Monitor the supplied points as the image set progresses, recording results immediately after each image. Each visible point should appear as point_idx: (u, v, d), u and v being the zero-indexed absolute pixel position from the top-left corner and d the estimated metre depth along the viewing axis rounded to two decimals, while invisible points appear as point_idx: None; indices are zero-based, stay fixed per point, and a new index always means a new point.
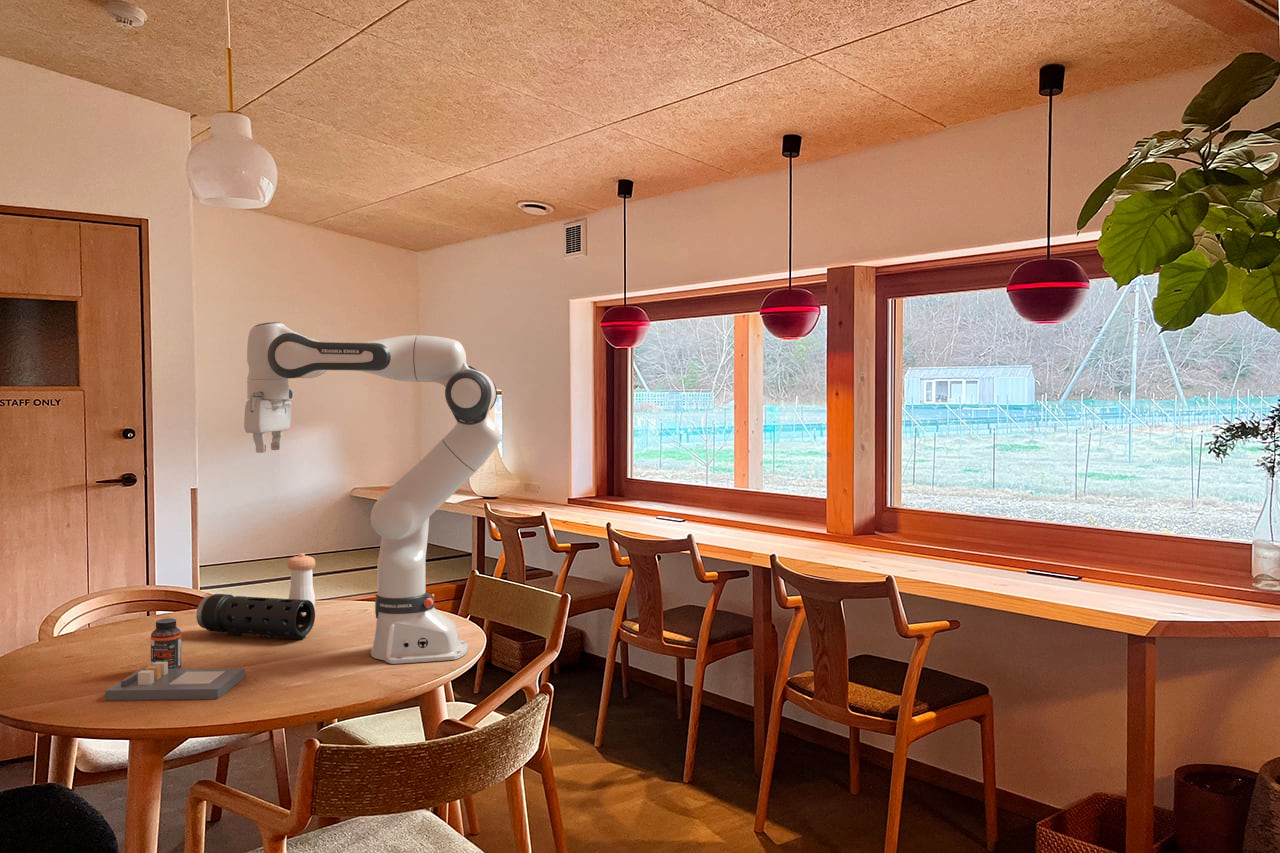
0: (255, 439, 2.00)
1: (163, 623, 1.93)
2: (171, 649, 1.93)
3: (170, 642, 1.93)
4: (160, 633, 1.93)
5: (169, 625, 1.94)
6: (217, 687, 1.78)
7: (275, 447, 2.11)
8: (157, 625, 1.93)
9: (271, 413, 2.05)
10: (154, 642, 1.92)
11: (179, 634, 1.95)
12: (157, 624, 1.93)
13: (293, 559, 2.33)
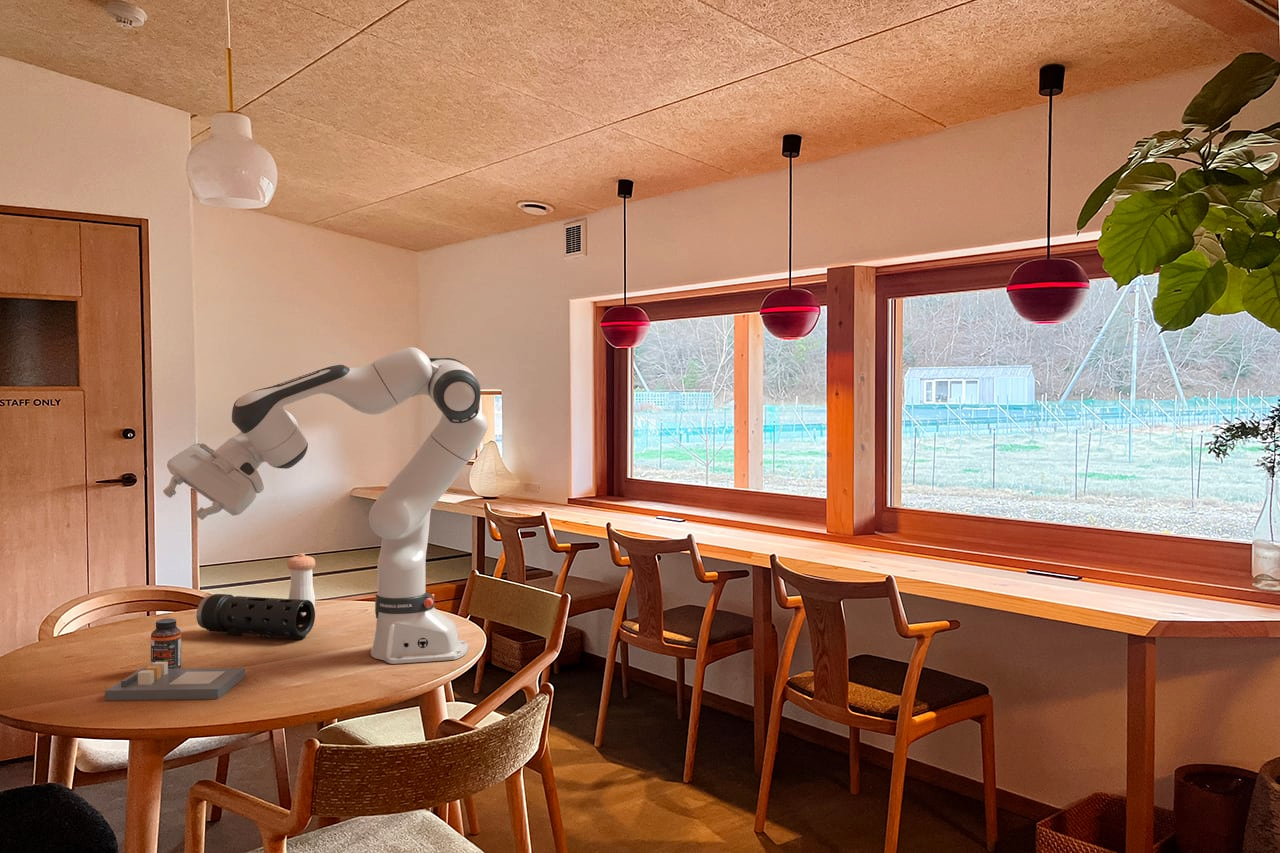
0: None
1: (163, 623, 1.93)
2: (171, 649, 1.93)
3: (170, 642, 1.93)
4: (160, 633, 1.93)
5: (169, 625, 1.94)
6: (217, 687, 1.78)
7: None
8: (157, 625, 1.93)
9: (206, 468, 1.92)
10: (154, 642, 1.92)
11: (179, 634, 1.95)
12: (157, 624, 1.93)
13: (293, 559, 2.33)
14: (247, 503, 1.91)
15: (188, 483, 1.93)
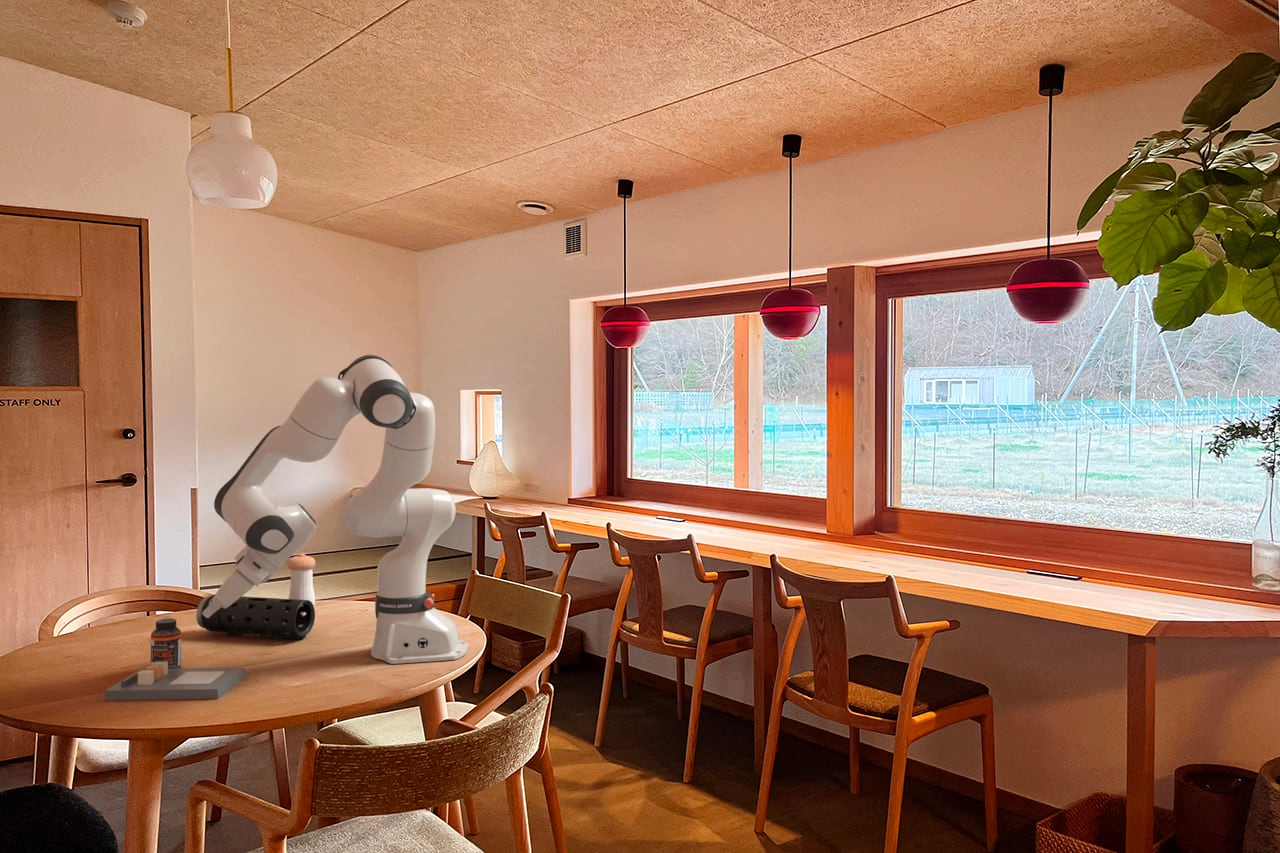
0: None
1: (163, 623, 1.93)
2: (171, 649, 1.93)
3: (170, 642, 1.93)
4: (160, 633, 1.93)
5: (169, 625, 1.94)
6: (217, 687, 1.78)
7: None
8: (157, 625, 1.93)
9: None
10: (154, 642, 1.92)
11: (179, 634, 1.95)
12: (157, 624, 1.93)
13: (293, 559, 2.33)
14: (233, 593, 1.89)
15: None
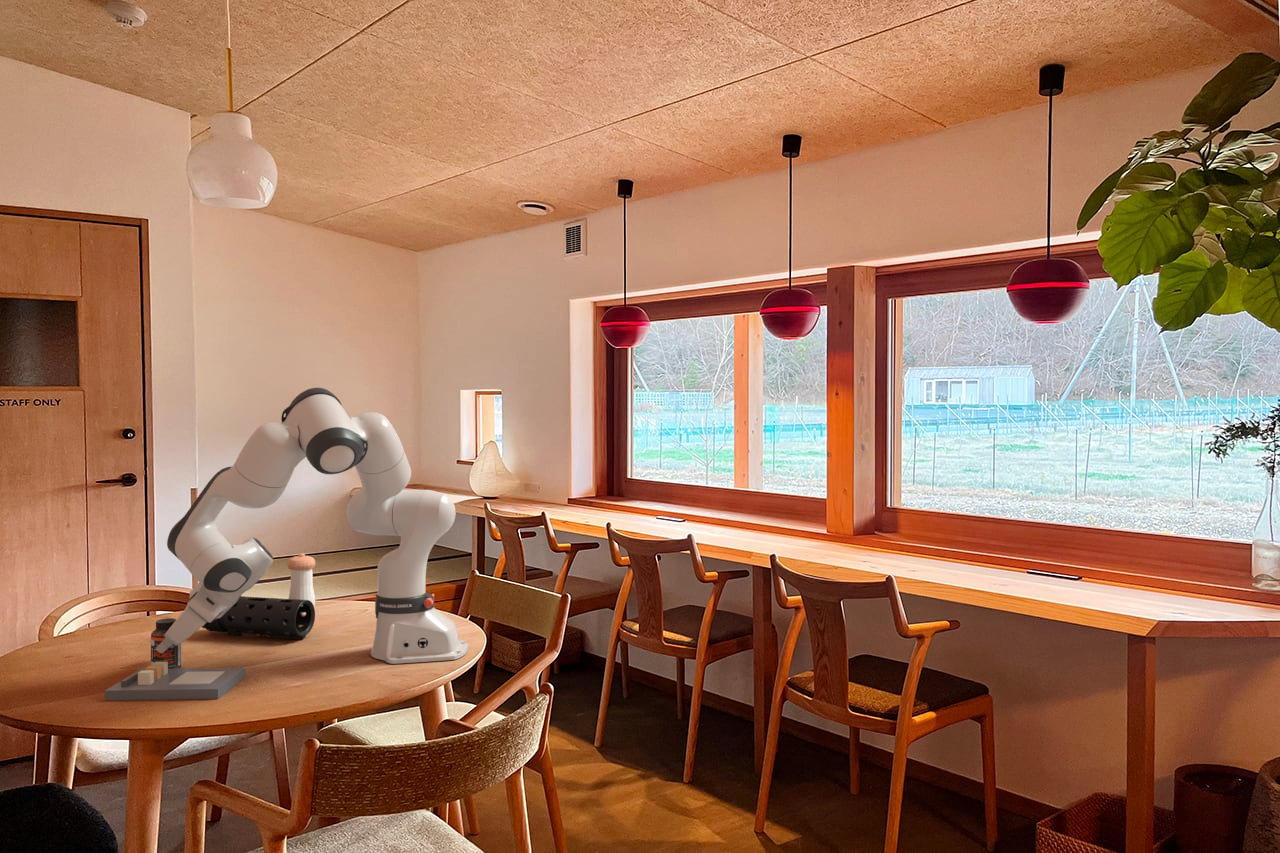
0: None
1: (163, 623, 1.93)
2: (171, 649, 1.93)
3: None
4: (160, 633, 1.93)
5: (169, 625, 1.94)
6: (217, 687, 1.78)
7: None
8: (157, 625, 1.93)
9: None
10: (154, 642, 1.92)
11: None
12: (157, 624, 1.93)
13: (293, 559, 2.33)
14: (184, 630, 1.87)
15: None
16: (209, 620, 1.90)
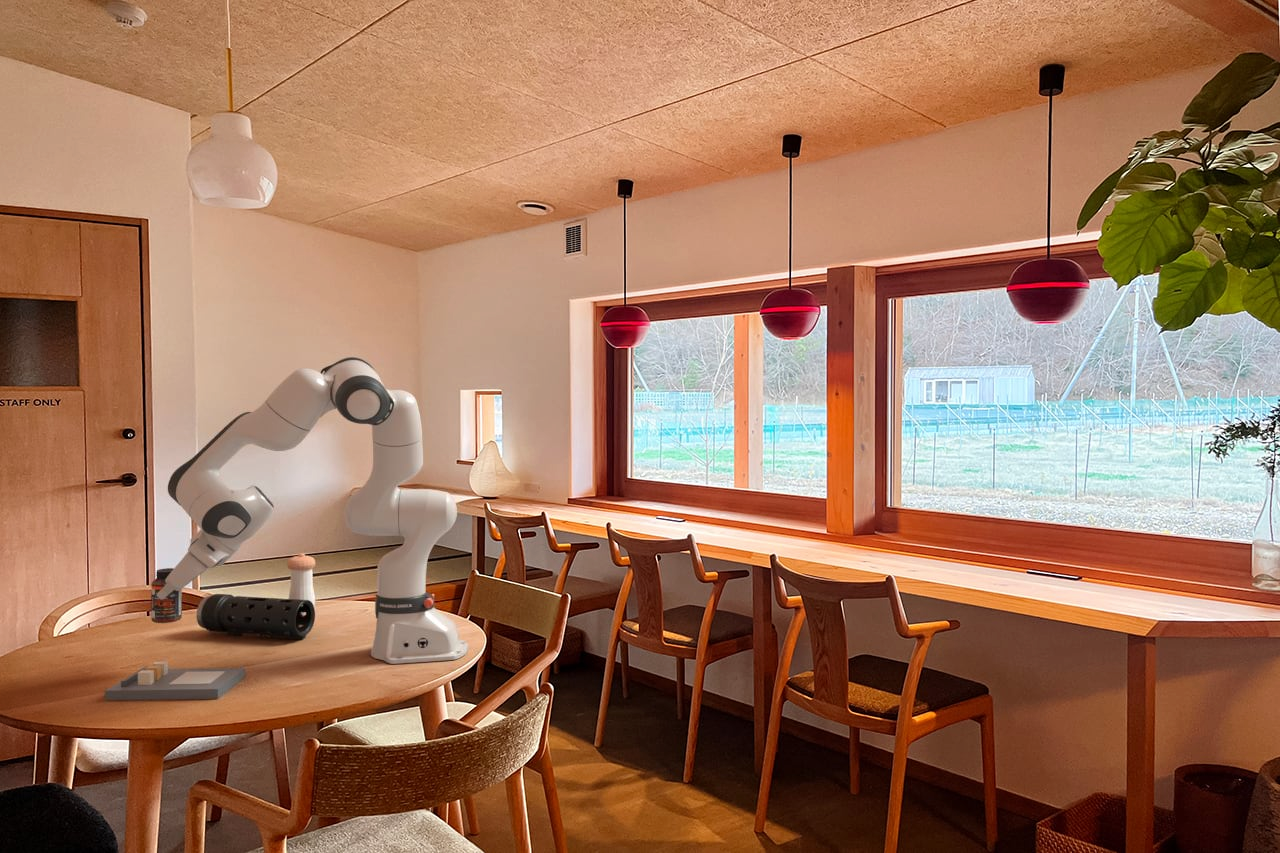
0: None
1: (164, 572, 1.93)
2: (172, 598, 1.93)
3: None
4: (161, 582, 1.92)
5: None
6: (217, 687, 1.78)
7: None
8: (158, 574, 1.93)
9: None
10: (155, 590, 1.92)
11: None
12: (158, 573, 1.93)
13: (293, 559, 2.33)
14: (185, 576, 1.87)
15: None
16: (210, 566, 1.89)
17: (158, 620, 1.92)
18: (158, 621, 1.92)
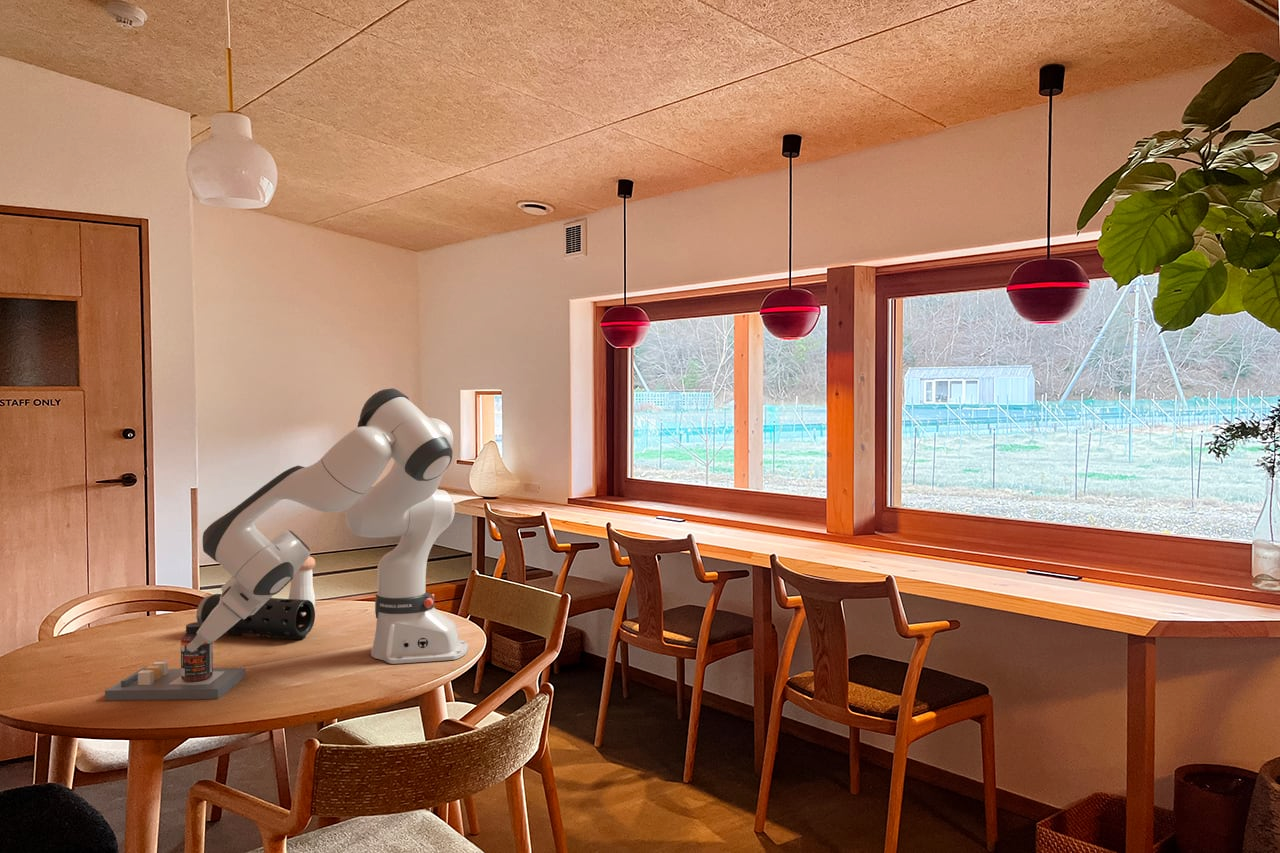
0: None
1: (194, 627, 1.81)
2: (203, 655, 1.81)
3: (201, 647, 1.81)
4: (191, 638, 1.81)
5: None
6: (217, 687, 1.78)
7: None
8: (187, 629, 1.82)
9: None
10: (184, 647, 1.81)
11: None
12: (187, 628, 1.82)
13: None
14: (218, 628, 1.75)
15: None
16: (244, 617, 1.78)
17: (188, 678, 1.81)
18: (188, 679, 1.81)
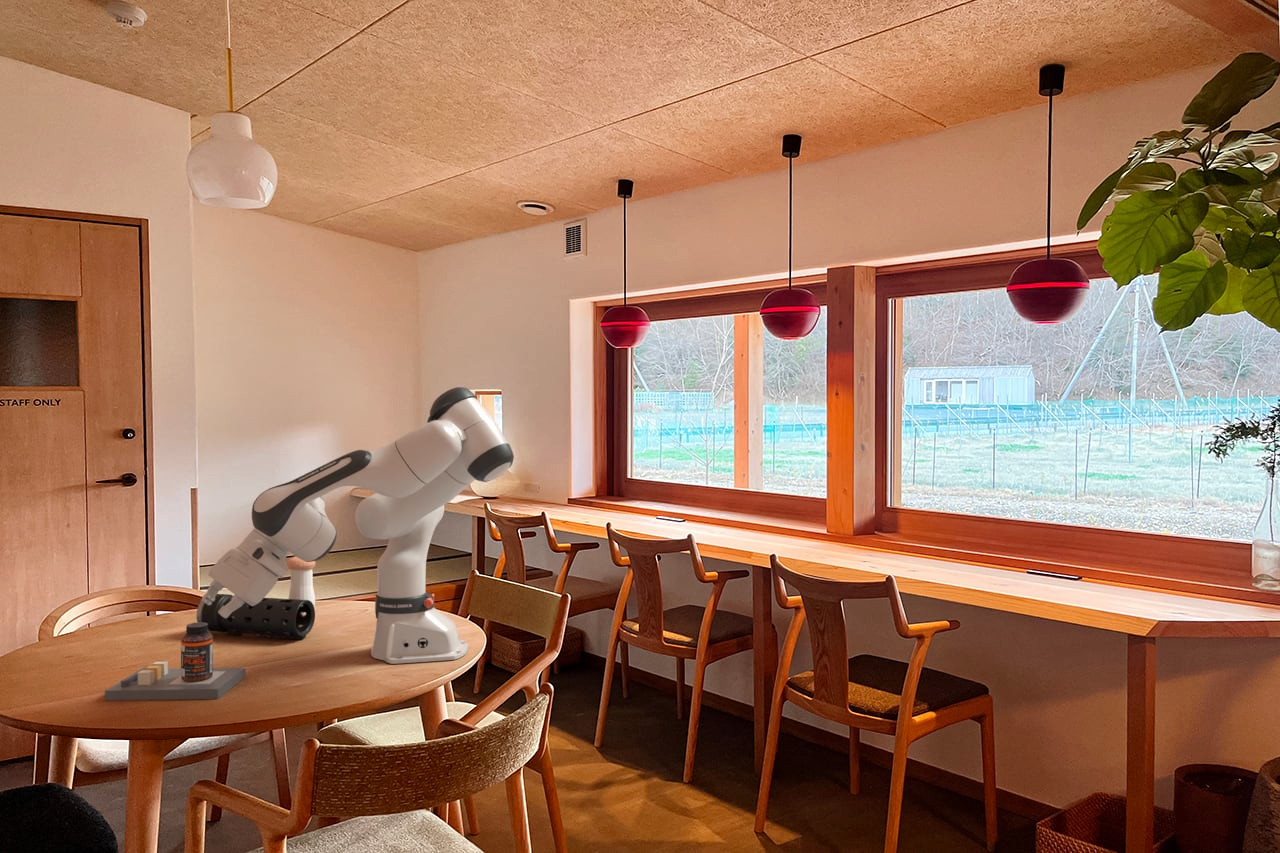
0: None
1: (194, 627, 1.81)
2: (203, 655, 1.81)
3: (201, 648, 1.81)
4: (191, 638, 1.81)
5: (201, 629, 1.82)
6: (217, 687, 1.78)
7: None
8: (188, 629, 1.81)
9: (234, 566, 1.83)
10: (185, 647, 1.80)
11: (211, 639, 1.83)
12: (188, 628, 1.81)
13: (293, 559, 2.33)
14: (262, 589, 1.76)
15: None
16: (282, 575, 1.80)
17: (188, 679, 1.81)
18: (188, 680, 1.81)
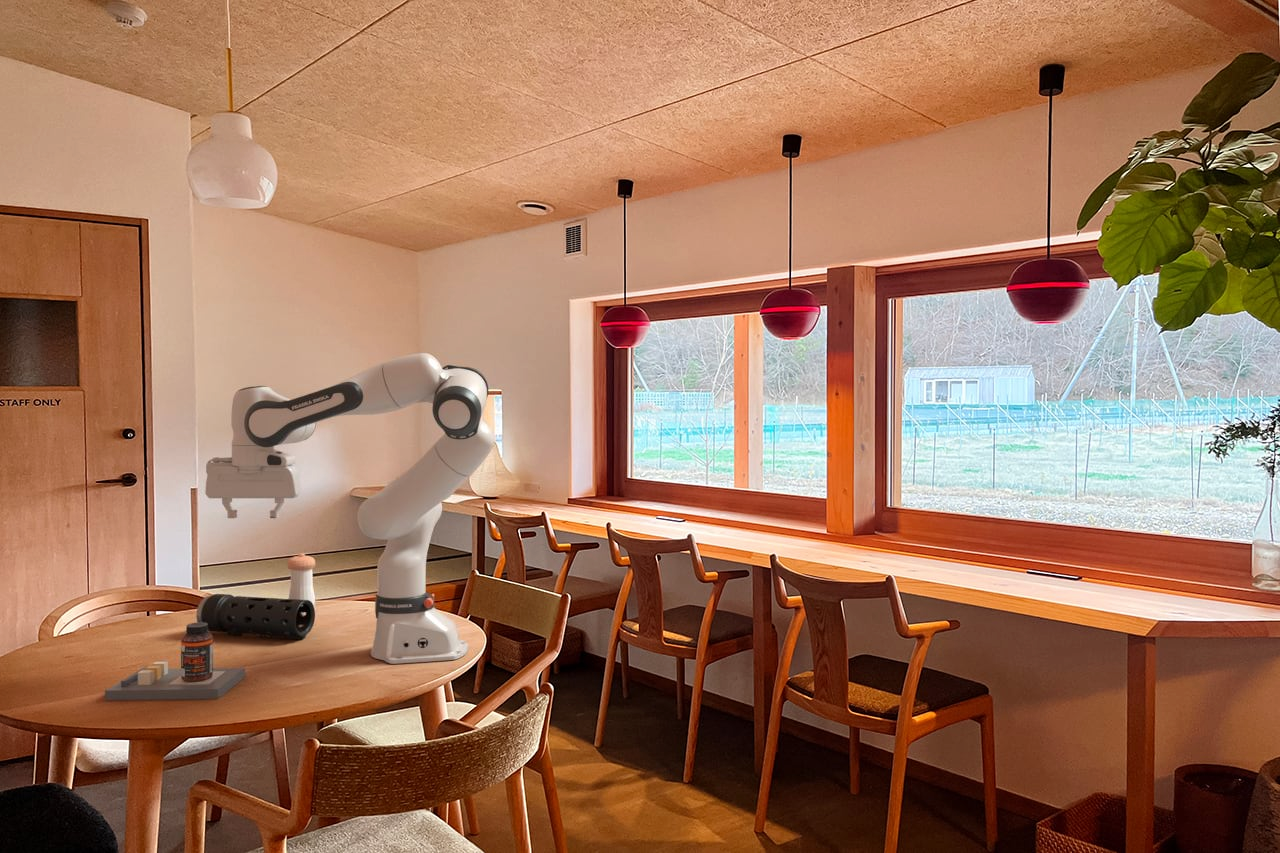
0: None
1: (194, 627, 1.81)
2: (203, 655, 1.81)
3: (201, 648, 1.81)
4: (191, 638, 1.81)
5: (201, 629, 1.82)
6: (217, 687, 1.78)
7: None
8: (188, 629, 1.81)
9: (241, 479, 1.99)
10: (185, 647, 1.80)
11: (211, 639, 1.83)
12: (188, 628, 1.81)
13: (293, 559, 2.33)
14: (298, 481, 2.02)
15: None
16: None
17: (188, 679, 1.81)
18: (188, 680, 1.81)
